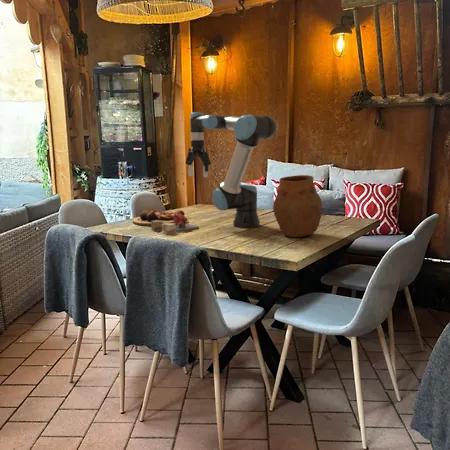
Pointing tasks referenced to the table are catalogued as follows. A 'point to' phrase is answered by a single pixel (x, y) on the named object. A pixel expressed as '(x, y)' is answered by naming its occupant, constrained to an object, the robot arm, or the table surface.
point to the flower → (180, 219)
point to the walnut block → (156, 225)
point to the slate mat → (186, 227)
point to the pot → (297, 206)
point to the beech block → (168, 228)
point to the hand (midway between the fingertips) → (198, 176)
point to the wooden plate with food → (155, 217)
